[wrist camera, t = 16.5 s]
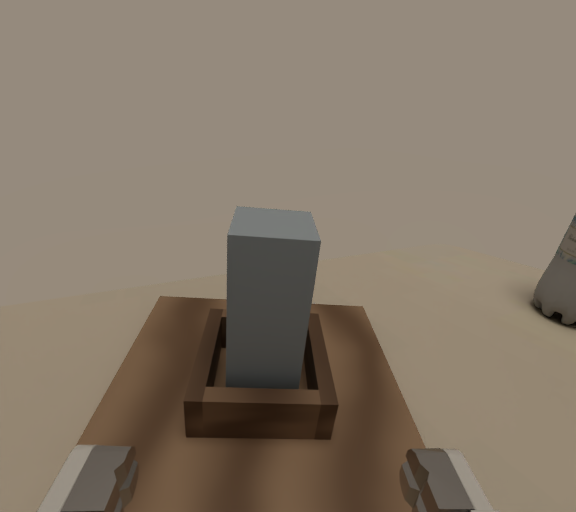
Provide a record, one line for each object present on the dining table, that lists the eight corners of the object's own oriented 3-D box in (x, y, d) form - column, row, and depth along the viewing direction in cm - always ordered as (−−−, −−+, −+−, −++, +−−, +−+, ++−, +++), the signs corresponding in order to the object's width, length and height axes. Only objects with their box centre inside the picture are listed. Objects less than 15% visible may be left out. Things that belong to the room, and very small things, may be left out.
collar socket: (12, 582, 13) (-20, 532, 12) (160, 304, 31) (157, 268, 29) (468, 572, 15) (501, 527, 13) (360, 314, 33) (368, 281, 31)
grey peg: (225, 408, 20) (227, 234, 15) (232, 357, 24) (236, 206, 19) (295, 410, 21) (320, 241, 16) (291, 359, 25) (310, 211, 20)
